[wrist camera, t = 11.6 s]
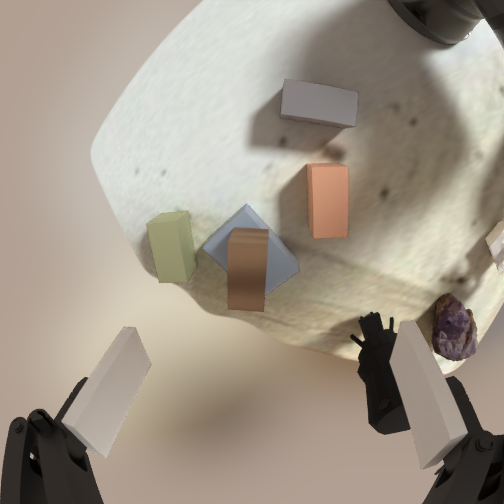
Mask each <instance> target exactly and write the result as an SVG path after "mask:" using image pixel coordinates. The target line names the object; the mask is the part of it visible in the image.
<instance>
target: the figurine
mask: <svg viewBox="0 0 504 504" xmlns="http://www.w3.org/2000/svg"><path fill="white" fill-rule="evenodd" d="M485 240H486V242H487V245H488V247H489V250H490V252H491V255H492V257H493V260H494V262H495V264H496V266H497V269H498V271H499V274H500V275H501V273H502V272H503V271H504V220H503V221H500V222H498V223H497V225H496V226H495V227H494V228H493V230H492V231H491V232H490V233H489V234H488V236H487V237H486V238H485Z"/></svg>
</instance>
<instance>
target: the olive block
mask: <svg viewBox="0 0 504 504" xmlns="http://www.w3.org/2000/svg"><path fill="white" fill-rule="evenodd" d="M146 225H147V230H148V235H149V240H150V245H151V250H152V254H153V259H154V263H155V267H156V272H157V276H158V280H159V283H182V282H188V281H189V279H190V277H191V276H192V274H193V272H194V270H195V269H196V267H197V262H196V256H195V250H194V244H193V238H192V231H191V225H190V218H189V211H179V212H169V213H161V214H159V215H158V216H157V217H155V218H154V219H152V220H151V221H149V222H148V223H147V224H146Z"/></svg>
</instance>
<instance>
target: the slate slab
mask: <svg viewBox="0 0 504 504" xmlns="http://www.w3.org/2000/svg"><path fill="white" fill-rule="evenodd" d="M234 227H241V228H259V229H269V237H268V255H267V271H266V286H265V296H266V295H267V294H269V293H270V292H271V291H273V290H274V289H275V288H277V287H278V286H279V285H281V284H282V283H283V282H285V281H286V280H288V279H289V278H290V277H292V276H293V275H294V274H296V273H297V272H298V271H300V270H299V264H298V259H297V257H296V256H295V255H294V254H293V253H292V252H291V251H290V250H289V248H288V247H287V246H286V245H285V244H284V243H283V242H282V241H281V240H280V238H279V237H278V236H277V235H276V234H275V233H274V232H273V231H272V230H271V229H270V228H269V226H268V225H267V224H266V223H265V222H264V221H263V220H262V219H261V218H260V217H259V216H258V215H257V213H256V212H255V211H254V210H253V209H252V208H251V207H250V206H249V205H248V204H245V205H244V206H243V207H242V208H241V209H240V210H239V211H237V212H236V213H235V214H234V215H233V216H232V217H231V218H230V219H229V220H227V221H226V222H225V223H224V224H223V225H222V226H221V227H220V228H219V229H217V230H216V231H215V232H214V233H213V234H212V235H211V236H210V237H209V238H208V239H207V241H206V242H205V244H204V246H203V247H202V248H203V249H204V250H205V251H206V252H207V253H208V254H209V255H210V256H211V257H212V258H213V259H214V260H215V261H216V262H217V263H218V264H219V265H220V266H221V267H222V268H223V269H224V270H225V271H226V272H227V273H228V240H229V238H230V236H231V234H232V231H233V229H234Z"/></svg>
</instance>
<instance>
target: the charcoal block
mask: <svg viewBox="0 0 504 504" xmlns="http://www.w3.org/2000/svg"><path fill="white" fill-rule="evenodd" d="M358 95H359V92H355V91H351V90H347V89H342V88H337V87H332V86H327V85H322V84H316V83H310V82H303V81H297V80H289V79H284V84H283V92H282V102H281V111H280V118H282V119H290V120H297V121H304V122H311V123H317V124H323V125H329V126H334V127H339V128H344V129H345V128H350V127H355V126H356V117H357V106H358Z"/></svg>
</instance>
